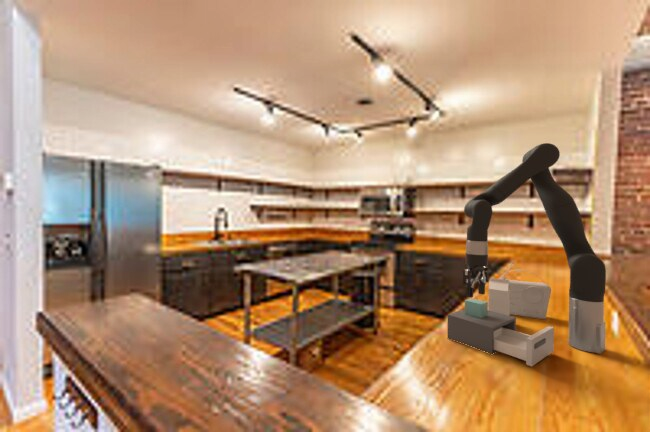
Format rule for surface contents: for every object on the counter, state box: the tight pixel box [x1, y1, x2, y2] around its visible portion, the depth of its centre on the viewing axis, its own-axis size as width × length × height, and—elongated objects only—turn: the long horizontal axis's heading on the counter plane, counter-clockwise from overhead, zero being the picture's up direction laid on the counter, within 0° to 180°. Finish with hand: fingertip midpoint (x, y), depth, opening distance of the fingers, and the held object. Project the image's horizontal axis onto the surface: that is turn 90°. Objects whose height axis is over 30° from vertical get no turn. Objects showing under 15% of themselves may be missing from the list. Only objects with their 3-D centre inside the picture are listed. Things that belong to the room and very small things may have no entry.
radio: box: [498, 261, 552, 320], centre depth 139 cm, size 22×8×25 cm, turn 62°
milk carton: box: [488, 277, 510, 316], centre depth 128 cm, size 7×7×19 cm
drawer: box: [494, 325, 555, 367], centre depth 100 cm, size 16×18×8 cm
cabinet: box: [447, 308, 517, 355], centre depth 110 cm, size 16×18×9 cm
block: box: [464, 298, 489, 318], centre depth 111 cm, size 6×5×5 cm
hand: (475, 295), depth 112 cm, fingers open, 8 cm apart
